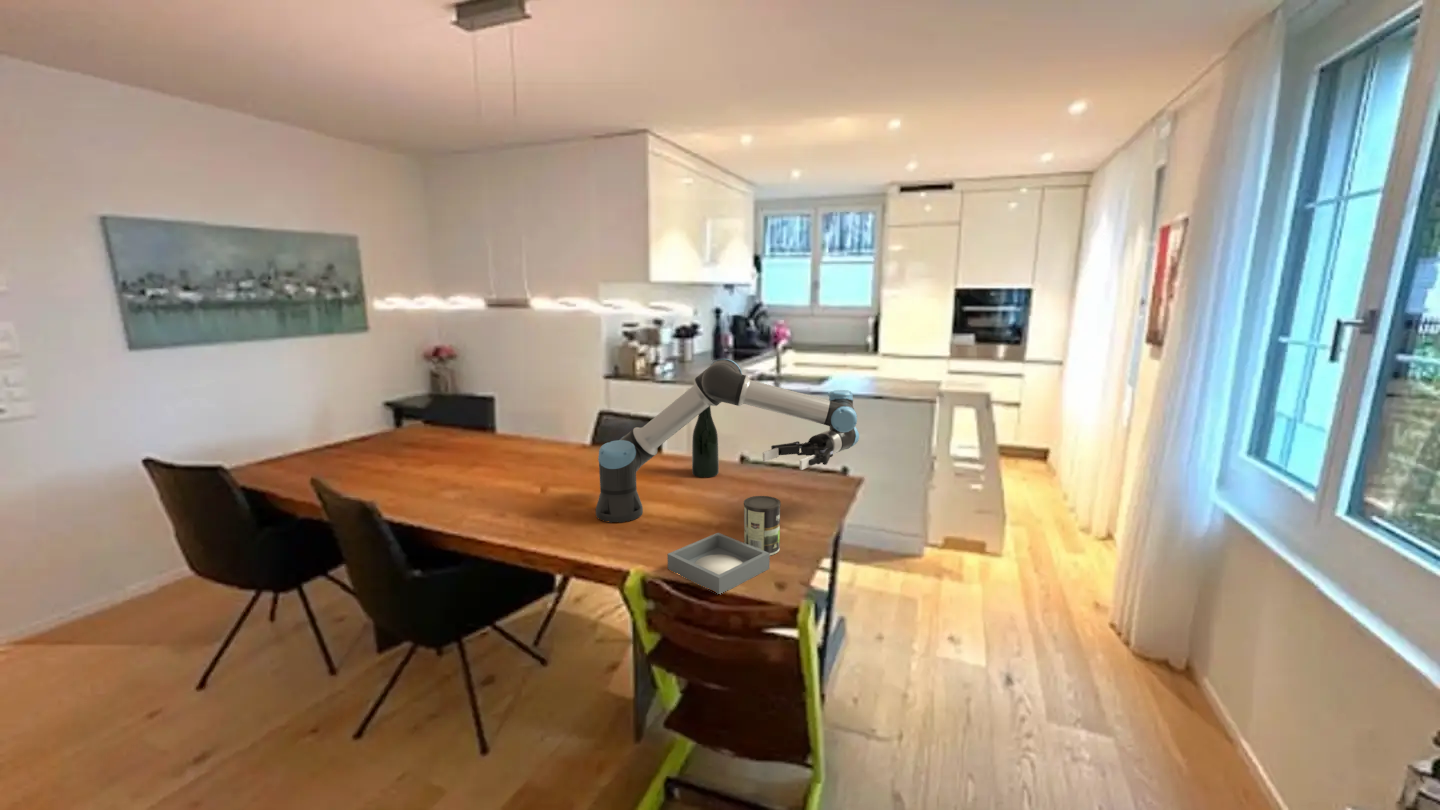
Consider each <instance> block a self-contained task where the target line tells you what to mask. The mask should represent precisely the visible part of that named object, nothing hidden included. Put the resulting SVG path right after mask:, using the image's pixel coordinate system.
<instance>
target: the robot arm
mask: <svg viewBox="0 0 1440 810" xmlns="http://www.w3.org/2000/svg"><path fill="white" fill-rule="evenodd" d="M828 395H829V396H828V399H825V398H821V397H818V396H813V395H809V394H806V393H802V392H799V391H798V392H797V391H795V390H794V391H793V390H792V389H791V390H790V389H786V388H783V387H778V386H774V385H771V384H768V383H764V382H763V383H762V382H759V381H757V380H751V379H750V378H749V376H748V375H746V374H743V373H742V369H741V368H740V366H739V365H738V363H737V362H735V361H733V360H732V359H729V358H720V359H716V360H715V361H714V362H712V363H711V364H710V366H708V367H707V368H706V369H705V370H704V371H702V372H701V373H700V374H698V376H696V377H695V378H694V381H693V385H692V386H691V387H690V388H688V390H686V391H685V392H684V393H682V394H681V395H680V396H679V397H678V398H676V399H675V400H674V401H673V402H671V404H669V405H668V406H667V407H666V408H664V409H662V411H661V412H659V413H658V414H657V415H656V416H655V417H653V418H652V419H651V420H650V421H648V422H647V423H646V424H645V425H643V426H642V427H637V426H636V427H634V428H633V429H632V430H630V431H629V432H628V433H627V434H625V435H623V436H622V437H620V439H619V440H617V439H616V440H611V441H609V442H606V443H604V444H602V445H601V446H600V448H599V450H598V457H597V459H598V469H599V471H598V472H599V488H600V490H599V491H600V492H599V495H598V500H597V503H596V506H595V516H597V517H596V518H597V519H598V518H599V519H601V520H604V521H603V522H605V521H609V522H608V523H612V522H619V523H626V522H625V521H627V522H631V521H634V520H636V519H639V518H640V517H641V516H642V515H643V513H644V512H643V509H644V508H643V504H642V500H641V499H640V495H639V493H638V491H637V489H638V488H637V472H638V471H639V470H640V469H641V467H642V466H644V465H645V464H646V463H647V462H648V461H650V460H651V459H652V458H654V457H655V456H656V455H657V454H658V448H659V447H660V446H661V445H662V444H664V443H665V442H666V441H668V440H670V439H671V437H673V436H674V435H676V433H677V432H679V431H680V430H681V429H682V428H684V427H685V426H686V425H688V424H689V423H690V422H691V421H692V420H694V419H695V418H696V417H698V416H699V414H700V413H701V412H702V411H704V410H705V409H706V408H707V407H709V406H710V407H711V406H713V407H717V406H718V405H720V404H721V403H725V404H731V405H734V406H737V407H741V406H742V405H746V406H751V407H755V408H758V409H763V410H766V411H771V412H775V413H776V414H777V413H778V414H782V415H784V416H790V417H793V418H797V419H801V420H806V421H809V422H813V423H816V424H820V425H823V426H824V425H825V426H828V427H829V430H826V431H824V432H821V433H818V434H815V435H812V436H811V437H810V438H809V439H808V441H807V442H803V443H801V442H800V441H794V442H788V443H781V444H775V445H774V444H773V445H771V446H770V448H771V449H769V450H766V451H764V452H762V462H768V461H770V460H773V459H777V458H778V457H779V456H787V455H797V456H806V457H803V458H801V459H800V460H799V470H801V471H802V470H805V469H807V468H810V467H812V466H815V465H820V464H822V465H825V466H826V465H828V463H829V461H830V458H832V457H833V456H834V454H836V453H837V454H838V453H839V452H842V451H845V450H848V449H850V448H852V447H854V446H855V445H856V444H858V442H859V439H860V432H859V431H858V428H857V427H856V426H857V422H858V415H857V412H856V411H855V408H854V398H853V395H854V394H853V391H850V390H848V389H847V390H846V389H837V390H832V391H830V392H829V394H828ZM599 519H598V520H599ZM601 520H600V521H601ZM630 520H631V521H630Z"/></svg>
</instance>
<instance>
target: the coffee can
mask: <svg viewBox="0 0 1440 810" xmlns="http://www.w3.org/2000/svg"><path fill="white" fill-rule="evenodd" d="M743 506H744V507H743V508H744V510H743V515H744V516H743V523H744V524H743V525H744V528H743V529H744V530H743V532H744V533H743V535H744V537H743V538H744V539H743V541H744V542H743V543H746V544H748V545H751V546H753V547H756V548H758V549H761V550H763V551H766V552H768V553H770V557H771V556H774V555H776V554H777V553H779V552H780V549H781V547H780V543H781V542H780V537H781V536H780V531H781V530H780V525H781V501H780V499H779V498H776V497H773V496H768V495H755V496H754V495H753V496H749V497H747V498H745V499H744V501H743Z"/></svg>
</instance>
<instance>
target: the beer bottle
mask: <svg viewBox="0 0 1440 810" xmlns="http://www.w3.org/2000/svg"><path fill="white" fill-rule="evenodd" d="M711 409H712V408H711V406H709V407H707V408H706V409H705V410H704V411H702V412H701V413H700V414H699V415H697V419H696V423H695V425H694V428H693V432H692V443H691V447H692V449H691V451H692V452H691V454H692V455H691V466H692V467H691V470H692V472H691V473H692V475H694V476H695V477H697V476H698V478H704V477H707V478H713V477H716V476H718V474H719V473H720V471H719V467H720V466H719V465H720V464H719V438H718V437H719V435H718V431H717V427H716V425H715V422H714V419H713V416H712V411H711Z"/></svg>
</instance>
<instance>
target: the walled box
mask: <svg viewBox="0 0 1440 810" xmlns="http://www.w3.org/2000/svg"><path fill="white" fill-rule="evenodd" d="M770 558H771V556H770V553H768V552H766V551H763V550H761V549H758V548H756V547H753V546H751V545H748V544H746V543H744V542H743V541H741V540H738V539H735V538H733V537H731V536H727V535H725V534H723V533H721V532H717V533H716V532H715V533H714V534H711V535H709V536H707V537H704V538H702V539H700V540H697V541H695V542H692V543H689V544H687V545H685V546H683V547H681V548H678V549H676V550H673V551H672V552H668V553H667V570H668V569H669V570H671V571H673V572H675V573H678V574H680V575H681V576H680V575H679V576H680V577H682V576H683V577H682V578H684V577H685V578H684V579H686V578H687V579H686V580H688V579H689V580H688V581H690V580H691V581H690V582H692V581H693V582H692V583H694V582H695V583H694V584H696V583H697V584H696V585H698V584H699V585H698V586H700V585H701V587H702V586H704V587H706V588H709V589H711V590H713V591H715V592H716V593H717V594H716V593H715V594H716V595H718V594H720V595H722V594H724V593H726V592H728V591H729V590H732V589H734V588H735V587H737V586H739V585H742V584H743V583H746V582H747V581H749V580H751V579H753V578H755V577H756V576H759V575H760V574H762V573H764V572H765V571H767V570H770V564H771V563H770ZM669 570H668V571H669ZM671 571H670V572H671ZM673 572H672V573H673ZM675 573H674V574H675ZM704 587H703V588H704ZM706 588H705V589H706ZM727 590H728V591H727ZM725 591H726V592H725ZM723 592H724V593H723ZM721 593H722V594H721Z"/></svg>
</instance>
